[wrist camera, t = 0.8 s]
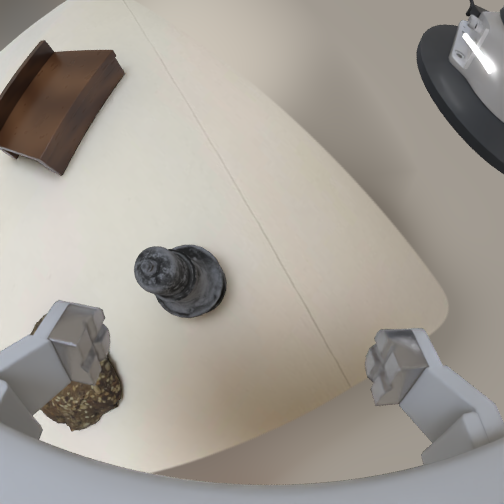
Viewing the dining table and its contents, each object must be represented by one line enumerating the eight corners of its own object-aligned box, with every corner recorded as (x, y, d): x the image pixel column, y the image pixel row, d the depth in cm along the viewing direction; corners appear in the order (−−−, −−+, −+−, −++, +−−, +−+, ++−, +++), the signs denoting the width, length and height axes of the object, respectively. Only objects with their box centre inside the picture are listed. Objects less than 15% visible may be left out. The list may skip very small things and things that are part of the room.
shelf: (65, 70, 36) (40, 40, 28) (127, 73, 34) (103, 34, 26) (10, 157, 33) (-24, 134, 26) (64, 176, 32) (23, 148, 24)
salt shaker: (190, 329, 27) (131, 340, 15) (155, 277, 28) (84, 254, 17) (242, 292, 27) (217, 277, 16) (205, 240, 29) (160, 192, 17)
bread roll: (68, 293, 29) (38, 289, 24) (138, 386, 26) (114, 398, 22) (17, 362, 28) (-11, 365, 23) (75, 446, 25) (51, 460, 21)
